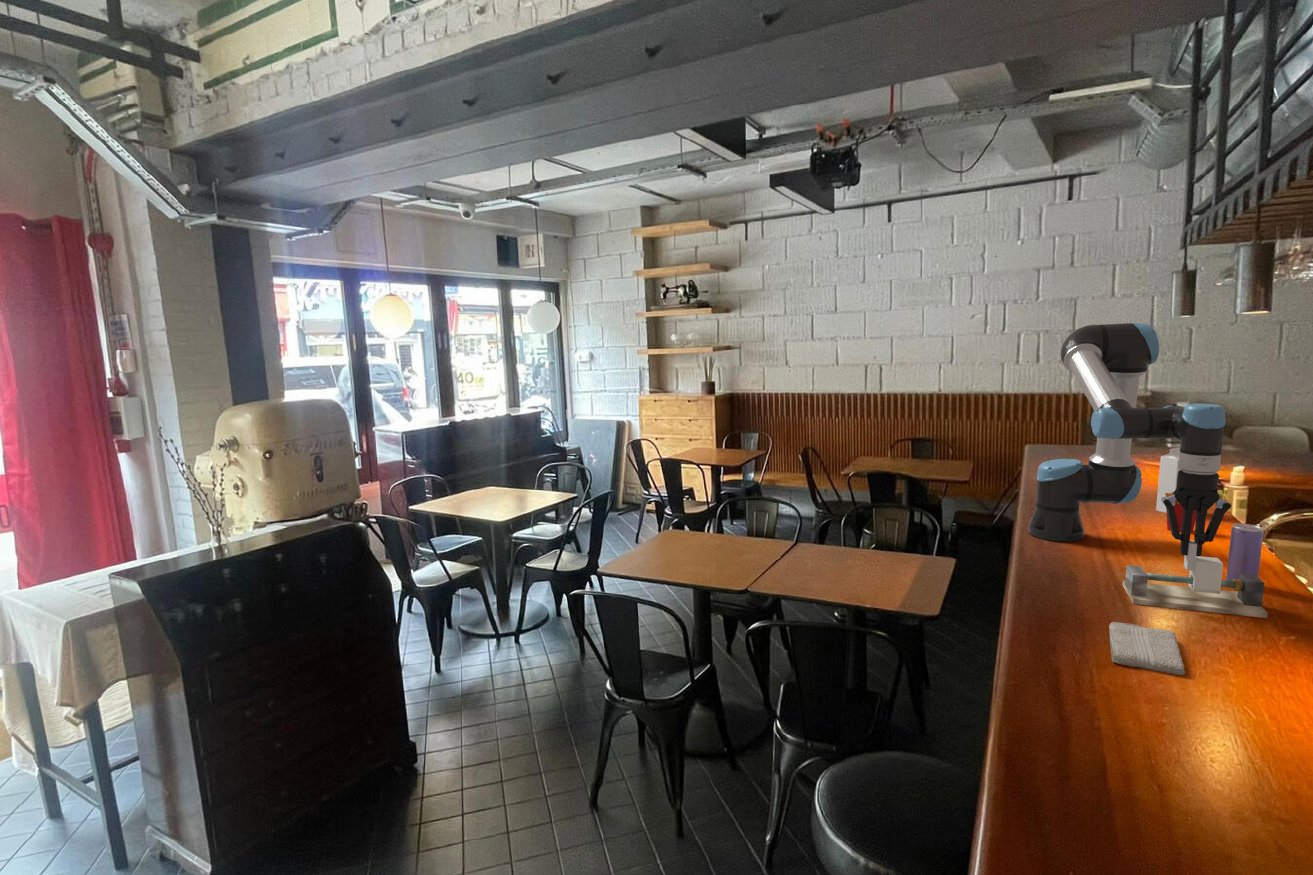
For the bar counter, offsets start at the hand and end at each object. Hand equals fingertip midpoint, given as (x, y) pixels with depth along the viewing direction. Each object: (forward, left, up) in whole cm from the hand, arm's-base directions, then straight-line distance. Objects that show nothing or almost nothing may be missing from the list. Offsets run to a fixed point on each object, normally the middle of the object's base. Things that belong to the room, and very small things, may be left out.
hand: (1189, 568), depth 161 cm
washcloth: (-15, -32, -9) cm, 36 cm away
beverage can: (+15, +15, -8) cm, 23 cm away
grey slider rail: (+1, 0, -8) cm, 8 cm away
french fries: (+13, +61, -8) cm, 63 cm away
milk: (+16, +83, -8) cm, 85 cm away
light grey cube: (+3, 0, -5) cm, 6 cm away
